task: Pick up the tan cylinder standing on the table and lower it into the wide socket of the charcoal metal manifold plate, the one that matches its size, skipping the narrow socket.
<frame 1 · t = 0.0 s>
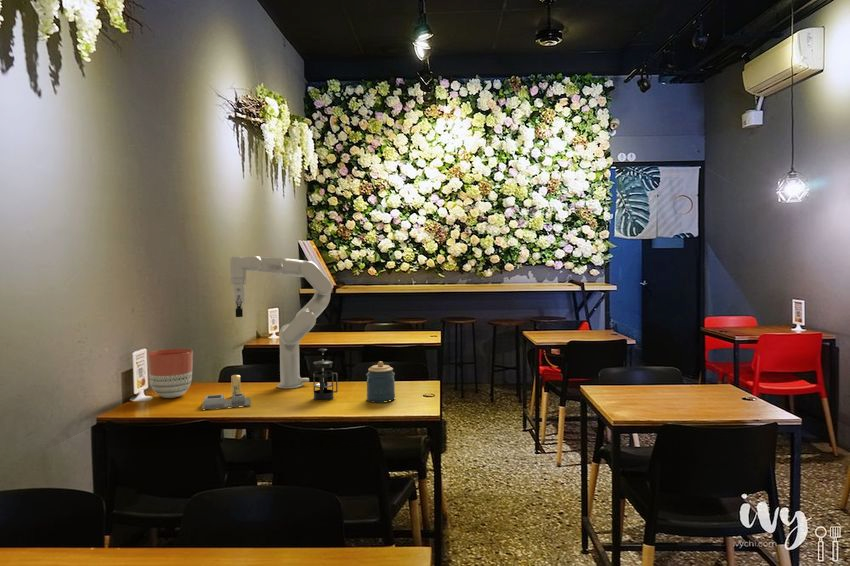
hand: (239, 316, 285), 37 cm above the table, tool pointing down, fingers open, 9 cm apart
planter: (171, 397, 274), on the table
canister: (380, 400, 264), on the table
manifold: (226, 404, 257), on the table
french press: (324, 398, 268), on the table
tan cylinder: (236, 396, 273), on the table
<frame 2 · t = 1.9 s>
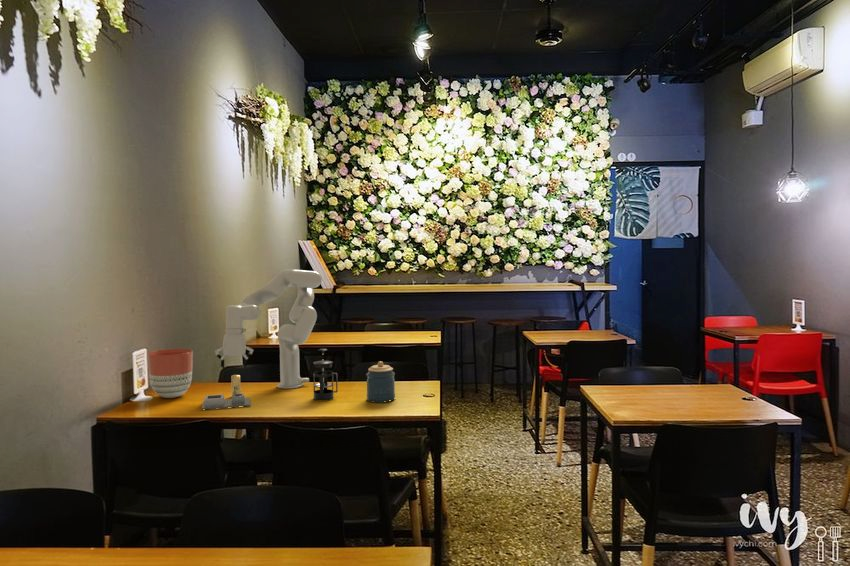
hand: (234, 368, 272), 14 cm above the table, tool pointing down, fingers open, 9 cm apart
nothing on the table moved.
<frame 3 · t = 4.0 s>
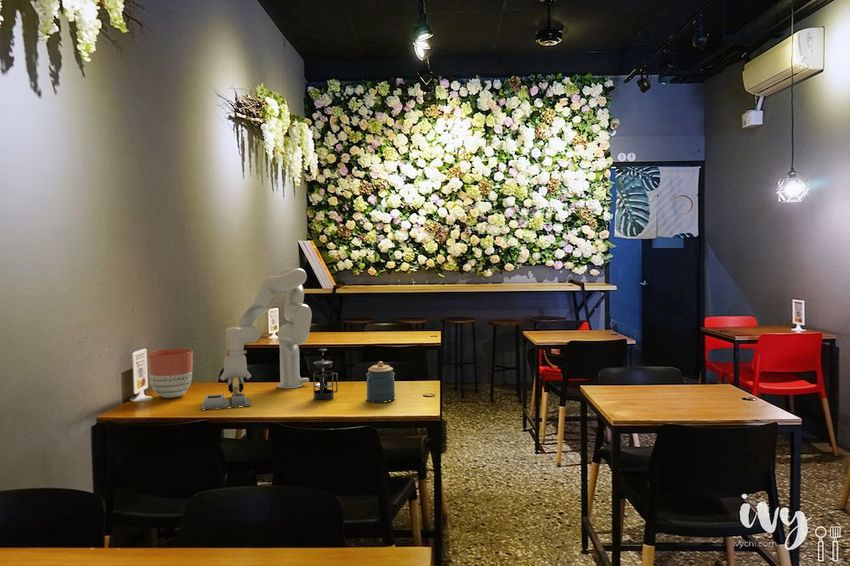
hand: (236, 391, 273), 2 cm above the table, tool pointing down, fingers closed on tan cylinder, 4 cm apart
tan cylinder: (236, 396, 273), on the table, touching gripper
everything else where it was.
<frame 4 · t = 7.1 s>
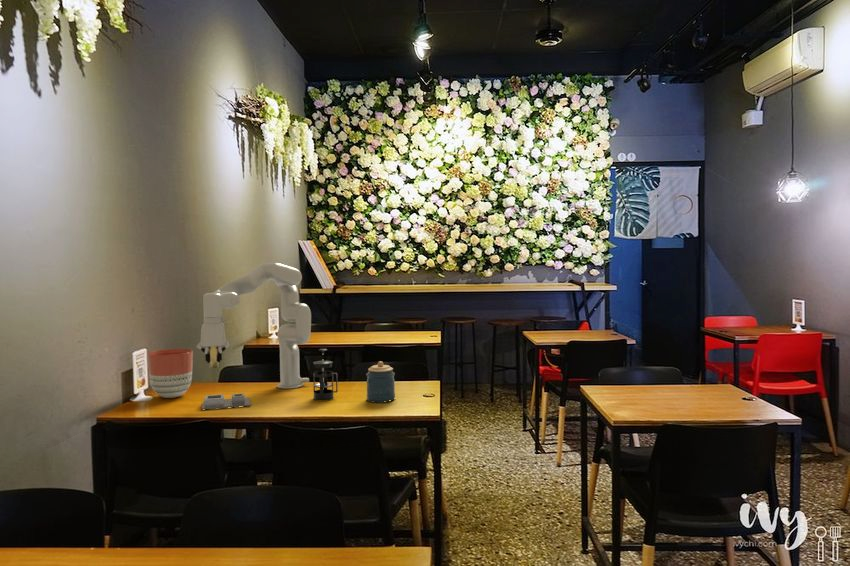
hand: (213, 361, 255), 19 cm above the table, tool pointing down, fingers closed on tan cylinder, 4 cm apart
tan cylinder: (213, 367, 255), point 17 cm above the table, touching gripper
everything else where it was.
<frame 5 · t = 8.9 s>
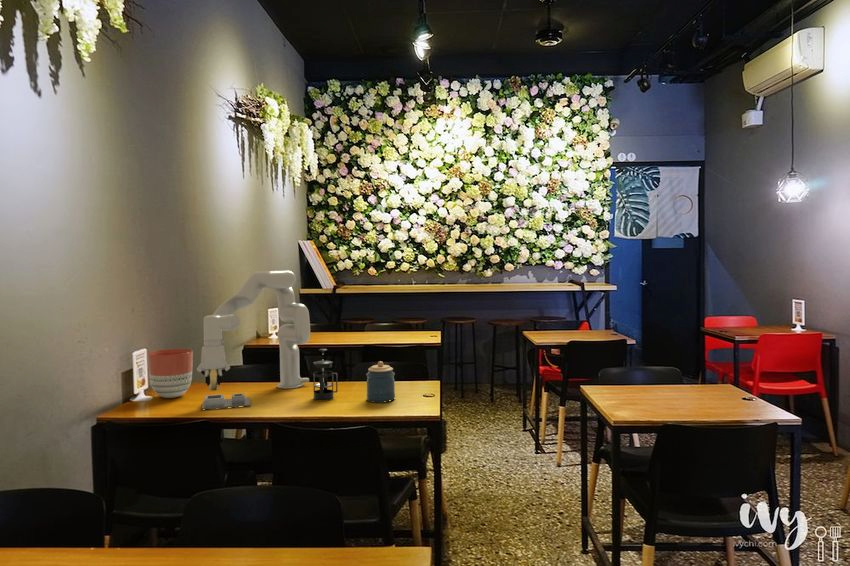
hand: (213, 384, 255), 10 cm above the table, tool pointing down, fingers closed on tan cylinder, 4 cm apart
tan cylinder: (213, 389, 255), point 7 cm above the table, touching gripper
everything else where it was.
when the fingers open (5 cm above the table, at t = 10.5 s): tan cylinder drops 2 cm, resting on manifold.
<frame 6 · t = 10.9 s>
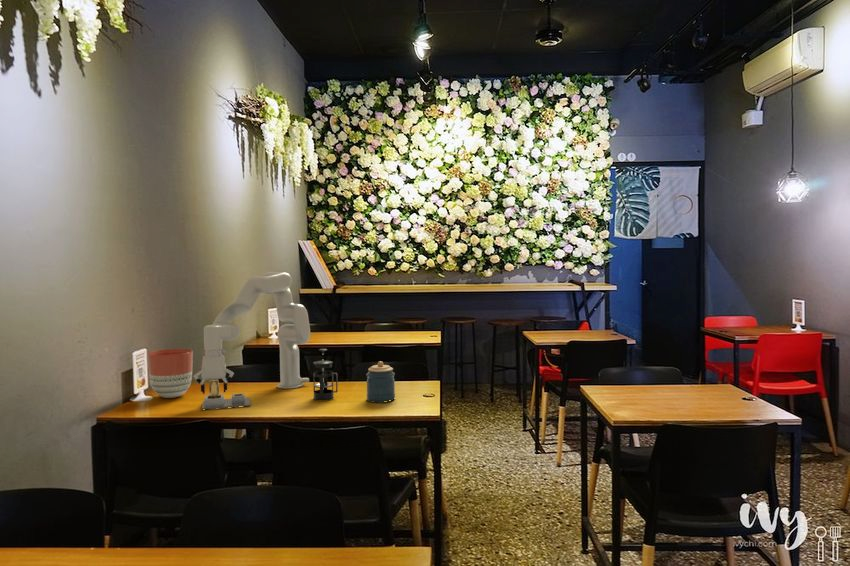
hand: (214, 392, 256), 6 cm above the table, tool pointing down, fingers open, 8 cm apart
tan cylinder: (214, 403, 256), point 1 cm above the table, touching manifold
everything else where it was.
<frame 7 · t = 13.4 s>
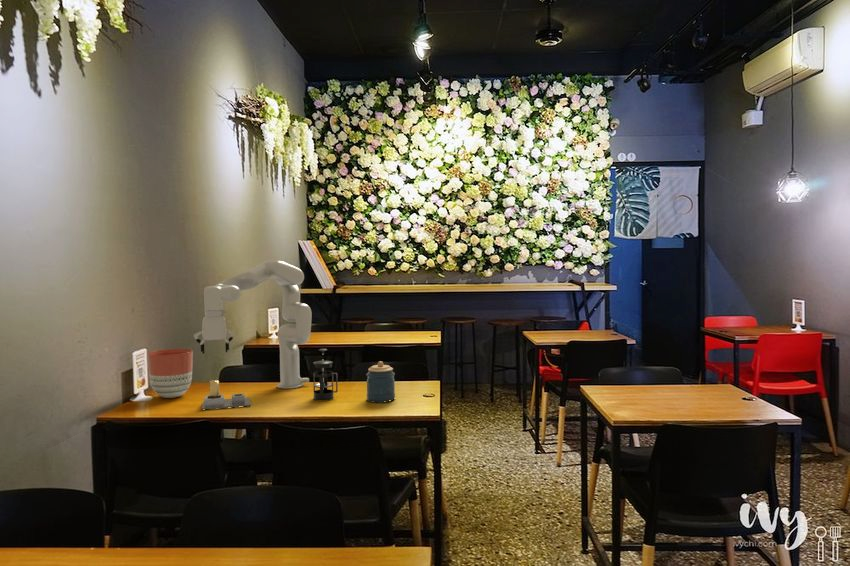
hand: (215, 352, 257), 23 cm above the table, tool pointing down, fingers open, 9 cm apart
nothing on the table moved.
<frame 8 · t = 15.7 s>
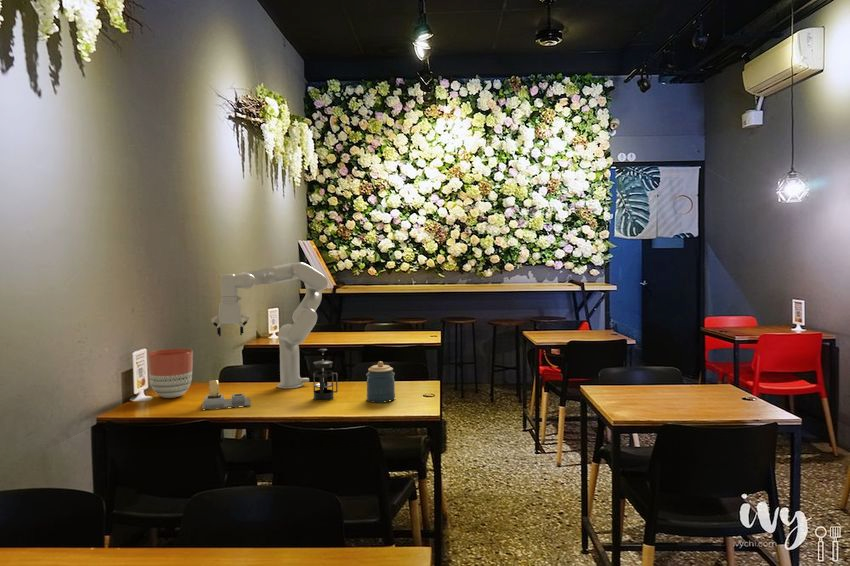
hand: (230, 335, 277), 28 cm above the table, tool pointing down, fingers open, 9 cm apart
nothing on the table moved.
at the end: tan cylinder 0.1 cm from the target spot on the manifold, point 1.0 cm above the manifold's base; tan cylinder tilted 1°; the gripper is holding nothing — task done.
